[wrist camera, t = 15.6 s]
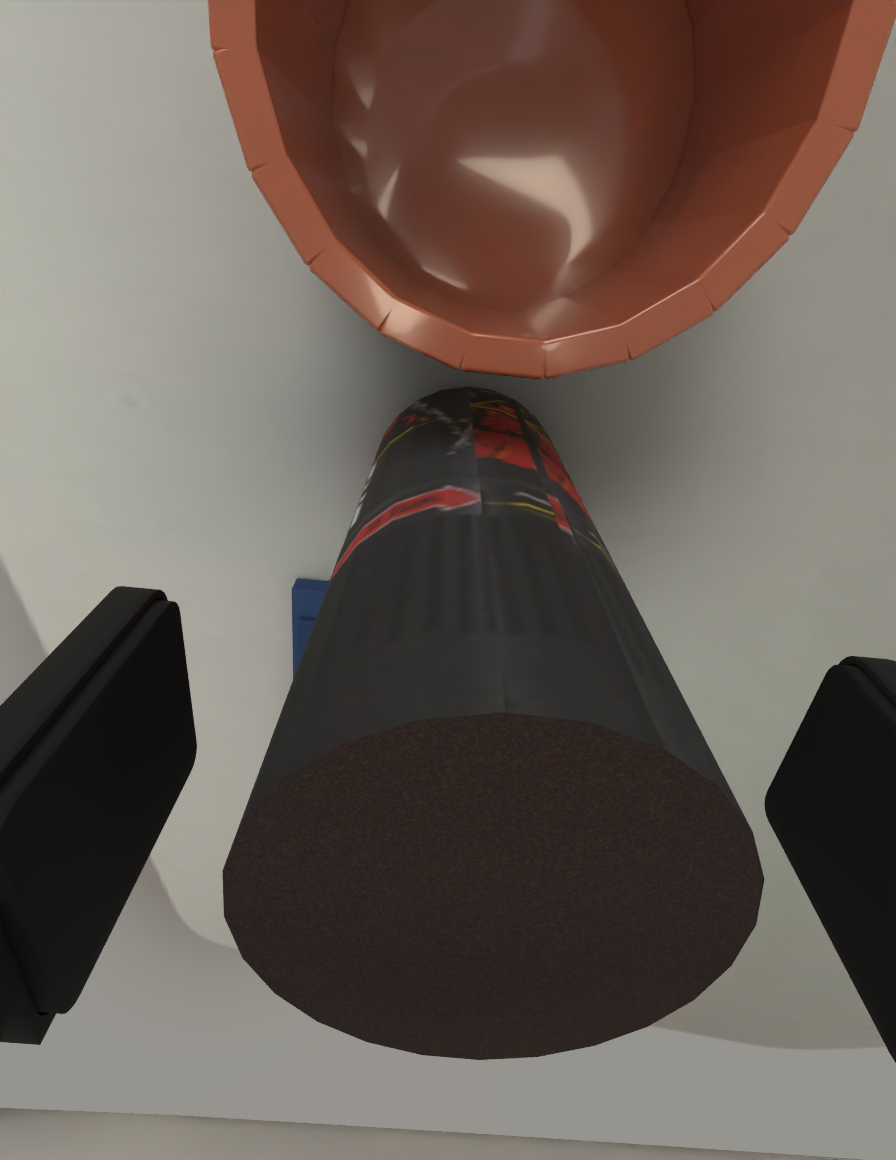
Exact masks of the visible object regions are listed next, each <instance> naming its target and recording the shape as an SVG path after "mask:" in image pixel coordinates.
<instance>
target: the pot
mask: <svg viewBox="0 0 896 1160" xmlns="http://www.w3.org/2000/svg"><path fill="white" fill-rule="evenodd" d="M208 8H209V25H210V42H211V48H212V49H213V50H214V51H213V57H214V61H215V64H216V67H217V70H218V74H219V77H220V80H221V84H222V87H223V90H224V93H225V97H226V100H227V103H228V106H229V110H230V113H231V116H232V119H233V123H234V126H235V129H236V133H237V136H238V139H239V142H240V146H241V149H242V152H243V155H244V159H245V162H246V165H247V168H248V170H249V171H251V172H252V179H253V180H254V182H255V184H256V185H257V187H258V188H259V190H260V192H261V193H262V195H263V197H264V198H265V200H266V201H267V203H268V205H269V206H270V208H271V210H272V211H273V213H274V215H275V216H276V218H277V219H278V221H279V223H280V224H281V226H282V228H283V229H284V231H285V232H286V234H287V236H288V237H289V239H290V241H291V242H292V244H293V246H294V247H295V249H296V250H297V252H298V254H299V255H300V257H301V259H302V260H303V262H304V263H305V264H306V265H310V266H309V268H310V270H311V272H312V273H313V274H315V275H316V276H317V277H318V278H319V279H320V280H321V281H322V282H323V283H324V284H325V285H327V286H328V287H329V288H330V289H331V290H332V291H333V292H334V293H335V294H336V295H337V296H339V297H340V298H341V299H342V300H343V301H344V302H345V303H346V304H347V305H348V306H349V307H351V308H352V309H353V310H354V311H355V312H356V313H357V314H358V315H359V316H360V317H361V318H363V319H364V320H365V321H366V322H367V323H368V324H369V325H370V326H371V327H372V328H373V329H375V330H377V331H380V334H381V335H383V336H385V337H387V338H389V339H391V340H394V341H396V342H398V343H400V344H402V345H404V346H407V347H409V348H411V349H413V350H415V351H417V352H420V353H422V354H424V355H426V356H428V357H430V358H433V359H435V360H437V361H439V362H441V363H443V364H445V365H448V366H450V367H452V368H454V369H461V370H463V371H467V372H477V373H486V374H495V375H504V376H514V377H523V378H532V379H542V378H543V377H545V378H547V379H550V378H555V377H559V376H564V375H568V374H573V373H578V372H582V371H587V370H591V369H596V368H601V367H605V366H610V365H614V364H619V363H624V362H626V361H628V360H629V359H630V360H634V359H636V358H637V357H639V356H641V355H643V354H645V353H646V352H648V351H650V350H652V349H653V348H655V347H657V346H659V345H661V344H662V343H664V342H666V341H668V340H669V339H671V338H673V337H675V336H677V335H678V334H680V333H682V332H684V331H686V330H687V329H689V328H691V327H693V326H694V325H696V324H698V323H700V322H702V321H703V320H705V319H707V318H709V317H710V316H712V315H713V314H714V312H715V311H717V310H718V309H719V308H720V307H721V306H723V305H724V304H725V303H726V302H727V301H728V300H729V299H730V298H731V297H732V296H733V295H734V294H735V293H736V292H737V291H738V290H739V289H740V288H741V287H742V286H743V285H744V284H745V283H746V282H747V281H748V280H749V279H750V278H751V277H752V276H753V275H754V274H755V273H756V272H757V271H758V270H759V269H760V268H761V267H762V266H763V265H764V264H765V263H766V262H767V261H768V260H769V259H770V258H771V257H772V256H773V255H774V254H775V253H776V252H777V251H778V250H779V249H780V248H781V247H782V246H783V245H784V244H785V243H786V242H787V241H788V239H789V236H791V235H792V234H793V233H794V232H795V231H796V229H797V227H798V226H799V224H800V223H801V221H802V219H803V218H804V216H805V214H806V213H807V211H808V210H809V208H810V206H811V205H812V203H813V201H814V200H815V198H816V197H817V195H818V193H819V192H820V190H821V188H822V187H823V185H824V183H825V182H826V180H827V179H828V177H829V175H830V174H831V172H832V170H833V169H834V167H835V166H836V164H837V162H838V161H839V159H840V157H841V156H842V154H843V153H844V151H845V149H846V148H847V146H848V144H849V143H850V141H851V140H852V138H853V135H854V133H853V132H855V131H857V129H858V128H859V125H860V122H861V119H862V116H863V113H864V110H865V107H866V104H867V101H868V98H869V95H870V92H871V89H872V86H873V83H874V80H875V77H876V74H877V71H878V68H879V65H880V63H881V60H882V57H883V54H884V51H885V48H886V45H887V42H888V39H889V36H890V33H891V30H892V27H893V24H894V21H895V18H896V0H208Z"/></svg>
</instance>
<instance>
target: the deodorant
mask: <svg viewBox="0 0 896 1160" xmlns="http://www.w3.org/2000/svg"><path fill="white" fill-rule="evenodd" d="M763 884H764V876H763V872H762V868H761V864H760V860H759V856H758V852H757V848H756V844H755V840H754V836H753V832H752V830H751V828H750V826H749V824H748V822H747V820H746V818H745V816H744V814H743V812H742V810H741V809H740V807H739V805H738V803H737V801H736V799H735V797H734V795H733V793H732V791H731V789H730V787H729V785H728V783H727V781H726V779H725V777H724V776H723V774H722V772H721V770H720V768H719V766H718V764H717V762H716V760H715V758H714V756H713V754H712V752H711V750H710V748H709V746H708V744H707V743H706V741H705V739H704V737H703V735H702V733H701V731H700V729H699V727H698V725H697V723H696V721H695V719H694V717H693V715H692V713H691V712H690V710H689V708H688V706H687V704H686V702H685V700H684V698H683V696H682V694H681V692H680V690H679V688H678V686H677V684H676V682H675V680H674V679H673V677H672V675H671V673H670V671H669V669H668V667H667V665H666V663H665V661H664V659H663V657H662V655H661V653H660V651H659V649H658V647H657V646H656V644H655V642H654V640H653V638H652V636H651V634H650V632H649V630H648V628H647V626H646V624H645V622H644V620H643V618H642V616H641V615H640V613H639V611H638V609H637V607H636V605H635V603H634V601H633V599H632V597H631V595H630V593H629V591H628V589H627V587H626V585H625V583H624V582H623V580H622V578H621V576H620V574H619V572H618V570H617V568H616V566H615V564H614V562H613V560H612V558H611V556H610V554H609V552H608V550H607V549H606V547H605V545H604V543H603V541H602V539H601V537H600V535H599V533H598V531H597V529H596V527H595V525H594V523H593V521H592V519H591V518H590V516H589V514H588V512H587V510H586V508H585V506H584V504H583V502H582V500H581V498H580V496H579V494H578V492H577V490H576V488H575V486H574V485H573V483H572V481H571V479H570V477H569V475H568V473H567V471H566V469H565V467H564V465H563V463H562V461H561V459H560V457H559V455H558V453H557V452H556V450H555V448H554V446H553V444H552V442H551V440H550V438H549V436H548V435H547V433H546V432H545V430H544V429H543V427H542V426H541V424H540V423H539V421H538V420H537V419H536V417H535V416H534V415H532V414H531V413H530V412H529V411H528V410H526V409H525V408H524V407H523V406H522V405H521V404H519V403H518V402H517V401H515V400H513V399H511V398H509V397H506V396H504V395H502V394H500V393H497V392H495V391H492V390H486V389H479V388H473V387H463V388H454V389H446V390H441V391H439V392H436V393H434V394H431V395H429V396H426V397H424V398H421V399H419V400H418V401H416V402H415V403H414V404H413V405H411V406H410V407H409V408H407V409H406V410H405V411H403V412H402V413H401V414H400V415H399V416H398V417H397V418H396V420H395V421H394V422H393V424H392V425H391V426H390V428H389V429H388V430H387V432H386V433H385V434H384V437H383V439H382V442H381V444H380V447H379V450H378V452H377V455H376V457H375V460H374V463H373V465H372V468H371V471H370V473H369V476H368V479H367V482H366V484H365V487H364V490H363V492H362V495H361V498H360V501H359V503H358V506H357V509H356V511H355V514H354V517H353V519H352V522H351V525H350V528H349V530H348V533H347V536H346V538H345V541H344V544H343V547H342V549H341V552H340V555H339V557H338V560H337V563H336V565H335V568H334V571H333V574H332V576H331V579H330V582H329V584H328V587H327V590H326V593H325V595H324V598H323V601H322V603H321V606H320V609H319V611H318V614H317V617H316V620H315V622H314V625H313V628H312V630H311V633H310V636H309V639H308V641H307V644H306V647H305V649H304V652H303V655H302V657H301V660H300V663H299V666H298V668H297V671H296V674H295V676H294V679H293V682H292V685H291V687H290V690H289V693H288V695H287V698H286V701H285V703H284V706H283V709H282V712H281V714H280V717H279V720H278V722H277V725H276V728H275V731H274V733H273V736H272V739H271V741H270V744H269V747H268V749H267V752H266V755H265V758H264V760H263V763H262V766H261V768H260V771H259V774H258V777H257V779H256V782H255V785H254V787H253V790H252V793H251V795H250V798H249V801H248V804H247V806H246V809H245V812H244V814H243V817H242V820H241V823H240V825H239V828H238V831H237V833H236V836H235V839H234V841H233V844H232V847H231V850H230V852H229V855H228V858H227V860H226V863H225V866H224V869H223V897H224V917H225V919H226V922H227V924H228V926H229V928H230V931H231V933H232V935H233V937H234V940H235V942H236V944H237V946H238V949H239V951H240V953H241V955H242V958H243V959H244V960H245V961H246V962H247V963H248V964H249V966H250V967H251V968H252V969H253V970H254V971H255V972H256V973H257V974H258V975H259V977H260V978H261V979H262V980H263V981H264V982H265V983H266V984H267V985H268V986H269V987H270V988H271V990H272V991H273V992H274V993H275V994H277V995H278V996H280V997H281V998H283V999H284V1000H286V1001H287V1002H289V1003H290V1004H292V1005H293V1006H295V1007H296V1008H298V1009H300V1010H301V1011H302V1012H304V1013H305V1014H307V1015H308V1016H310V1017H311V1018H313V1019H315V1020H316V1021H317V1022H320V1023H322V1024H325V1025H327V1026H329V1027H332V1028H334V1029H337V1030H339V1031H342V1032H344V1033H346V1034H349V1035H351V1036H354V1037H356V1038H359V1039H361V1040H364V1041H366V1042H369V1043H373V1044H378V1045H382V1046H386V1047H390V1048H395V1049H399V1050H403V1051H408V1052H412V1053H416V1054H420V1055H428V1056H440V1057H453V1058H464V1059H475V1060H484V1059H486V1060H487V1059H504V1058H522V1057H523V1058H524V1057H539V1056H544V1055H549V1054H554V1053H559V1052H565V1051H569V1050H575V1049H580V1048H585V1047H590V1046H595V1045H598V1044H600V1043H603V1042H606V1041H609V1040H611V1039H614V1038H617V1037H620V1036H623V1035H625V1034H628V1033H631V1032H634V1031H637V1030H640V1029H642V1028H645V1027H648V1026H649V1025H651V1024H653V1023H655V1022H656V1021H658V1020H660V1019H662V1018H663V1017H665V1016H667V1015H669V1014H670V1013H672V1012H674V1011H676V1010H677V1009H679V1008H681V1007H682V1006H684V1005H686V1004H688V1003H689V1002H691V1001H693V1000H694V999H695V998H697V997H698V996H699V995H700V994H701V993H702V992H703V991H704V990H705V989H706V988H707V987H709V986H710V985H711V984H712V983H713V982H714V981H715V980H716V979H717V978H718V977H719V976H721V975H722V974H723V973H724V972H725V971H726V970H727V969H728V968H729V967H730V966H731V965H732V964H733V962H734V960H735V959H736V957H737V955H738V954H739V952H740V950H741V949H742V947H743V945H744V944H745V942H746V940H747V939H748V937H749V936H750V934H751V932H752V931H753V929H754V927H755V926H756V922H757V917H758V911H759V906H760V900H761V895H762V889H763Z"/></svg>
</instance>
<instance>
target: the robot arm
mask: <svg viewBox="0 0 896 1160" xmlns="http://www.w3.org/2000/svg"><path fill="white" fill-rule="evenodd" d="M196 750H197V742H196V734H195V727H194V719H193V711H192V703H191V695H190V687H189V679H188V671H187V664H186V656H185V648H184V640H183V632H182V624H181V616H180V610H179V606H178V605H177V603H176V602H172V601H168V600H167V597H166V595H165V593H164V592H163V591H161V590H155V589H145V588H134V587H124V586H120V587H116V588H115V589H113V590H112V591H111V592H110V593H109V594H108V595H107V596H106V597H105V598H104V599H103V600H102V601H101V602H100V603H99V604H98V605H97V606H96V607H95V608H94V609H93V610H92V612H91V613H90V614H89V615H88V616H87V617H86V618H85V619H84V620H83V621H82V622H81V623H80V624H79V625H78V626H77V627H76V628H75V629H74V630H73V631H72V632H71V633H70V634H69V635H68V636H67V637H66V638H65V639H64V640H63V642H62V643H61V644H60V645H59V646H58V647H57V648H56V649H55V650H54V651H53V652H52V653H51V654H50V655H49V656H48V657H47V658H46V659H45V660H44V661H43V662H42V663H41V664H40V665H39V666H38V667H37V668H36V670H35V671H34V672H33V673H32V674H31V675H30V676H29V677H28V678H27V679H26V680H25V681H24V682H23V683H22V684H21V685H20V686H19V687H18V688H17V689H16V690H15V691H14V692H13V694H11V696H9V698H8V699H7V700H6V701H5V702H4V703H3V704H2V705H1V706H0V1042H9V1043H24V1044H38V1045H40V1044H41V1042H42V1040H43V1038H44V1036H45V1034H46V1032H47V1030H48V1028H49V1026H50V1024H51V1022H52V1020H53V1019H54V1017H55V1014H56V1013H58V1014H59V1013H60V1014H65V1013H66V1012H68V1011H69V1010H70V1009H71V1008H72V1007H73V1005H74V1004H75V1003H76V1001H77V999H78V997H79V996H80V994H81V992H82V990H83V988H84V986H85V984H86V982H87V980H88V978H89V975H90V974H91V972H92V970H93V968H94V966H95V963H96V961H97V959H98V958H99V955H100V953H101V951H102V949H103V947H104V945H105V943H106V941H107V939H108V937H109V935H110V933H111V931H112V929H113V927H114V925H115V923H116V921H117V919H118V917H119V915H120V913H121V911H122V909H123V907H124V905H125V903H126V901H127V899H128V897H129V895H130V893H131V891H132V889H133V887H134V885H135V883H136V881H137V879H138V877H139V875H140V873H141V871H142V869H143V867H144V865H145V863H146V861H147V859H148V857H149V855H150V853H151V851H152V849H153V847H154V845H155V843H156V841H157V839H158V837H159V835H160V833H161V831H162V829H163V827H164V825H165V823H166V821H167V819H168V817H169V815H170V813H171V811H172V809H173V807H174V805H175V803H176V801H177V799H178V797H179V795H180V793H181V791H182V789H183V786H184V784H185V782H186V780H187V778H188V776H189V774H190V772H191V770H192V768H193V765H194V762H195V757H196ZM765 811H766V816H767V818H768V821H769V823H770V824H771V826H772V828H773V830H774V832H775V834H776V836H777V838H778V840H779V842H780V844H781V846H782V847H783V849H784V851H785V853H786V855H787V857H788V859H789V861H790V863H791V865H792V867H793V869H794V870H795V872H796V874H797V876H798V878H799V880H800V882H801V884H802V886H803V888H804V890H805V892H806V893H807V895H808V897H809V899H810V901H811V903H812V905H813V907H814V909H815V911H816V913H817V915H818V916H819V918H820V920H821V922H822V924H823V926H824V928H825V930H826V932H827V934H828V936H829V938H830V939H831V941H832V943H833V945H834V947H835V949H836V951H837V953H838V955H839V957H840V959H841V961H842V962H843V964H844V966H845V968H846V970H847V972H848V974H849V976H850V978H851V980H852V982H853V984H854V985H855V987H856V989H857V991H858V993H859V995H860V997H861V999H862V1001H863V1003H864V1005H865V1007H866V1008H867V1010H868V1012H869V1014H870V1016H871V1018H872V1020H873V1022H874V1024H875V1026H876V1028H877V1030H878V1031H879V1033H880V1035H881V1037H882V1039H883V1041H884V1043H885V1045H886V1047H887V1049H888V1051H889V1053H890V1054H891V1056H892V1058H893V1059H894V1061H895V1062H896V661H893V660H888V659H878V658H868V657H857V656H850V657H846V658H845V659H843V660H842V661H841V662H840V663H839V665H834V666H832V667H831V668H830V669H829V670H828V672H827V673H826V675H825V677H824V679H823V681H822V683H821V685H820V687H819V689H818V691H817V693H816V695H815V697H814V699H813V701H812V703H811V705H810V707H809V709H808V711H807V713H806V715H805V717H804V719H803V721H802V723H801V725H800V727H799V729H798V731H797V733H796V735H795V737H794V739H793V741H792V743H791V745H790V747H789V749H788V751H787V753H786V755H785V757H784V759H783V761H782V763H781V765H780V767H779V769H778V771H777V773H776V775H775V777H774V779H773V781H772V783H771V785H770V787H769V789H768V791H767V794H766V797H765ZM0 1160H858V1159H845V1158H831V1157H817V1156H803V1155H787V1154H773V1153H758V1152H743V1151H728V1150H714V1149H699V1148H684V1147H669V1146H653V1145H639V1144H625V1143H608V1142H594V1141H578V1140H564V1139H549V1138H533V1137H518V1136H502V1135H487V1134H473V1133H457V1132H441V1131H424V1130H407V1129H392V1128H374V1127H359V1126H342V1125H325V1124H309V1123H294V1122H276V1121H260V1120H243V1119H228V1118H211V1117H194V1116H178V1115H157V1114H133V1113H107V1112H84V1111H83V1112H82V1111H60V1110H59V1111H58V1110H35V1109H10V1108H0Z"/></svg>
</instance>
